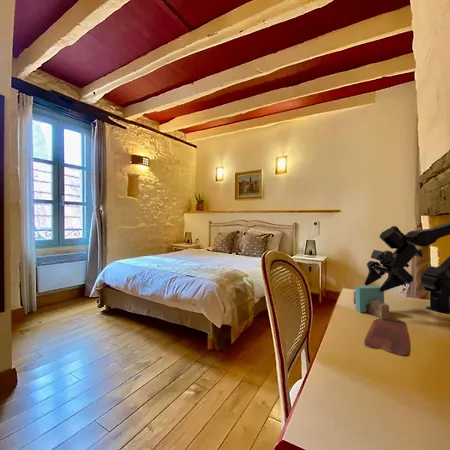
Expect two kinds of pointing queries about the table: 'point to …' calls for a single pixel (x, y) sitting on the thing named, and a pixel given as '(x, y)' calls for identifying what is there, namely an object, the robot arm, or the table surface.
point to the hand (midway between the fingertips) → (372, 287)
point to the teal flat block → (367, 296)
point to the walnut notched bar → (377, 309)
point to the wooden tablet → (388, 337)
